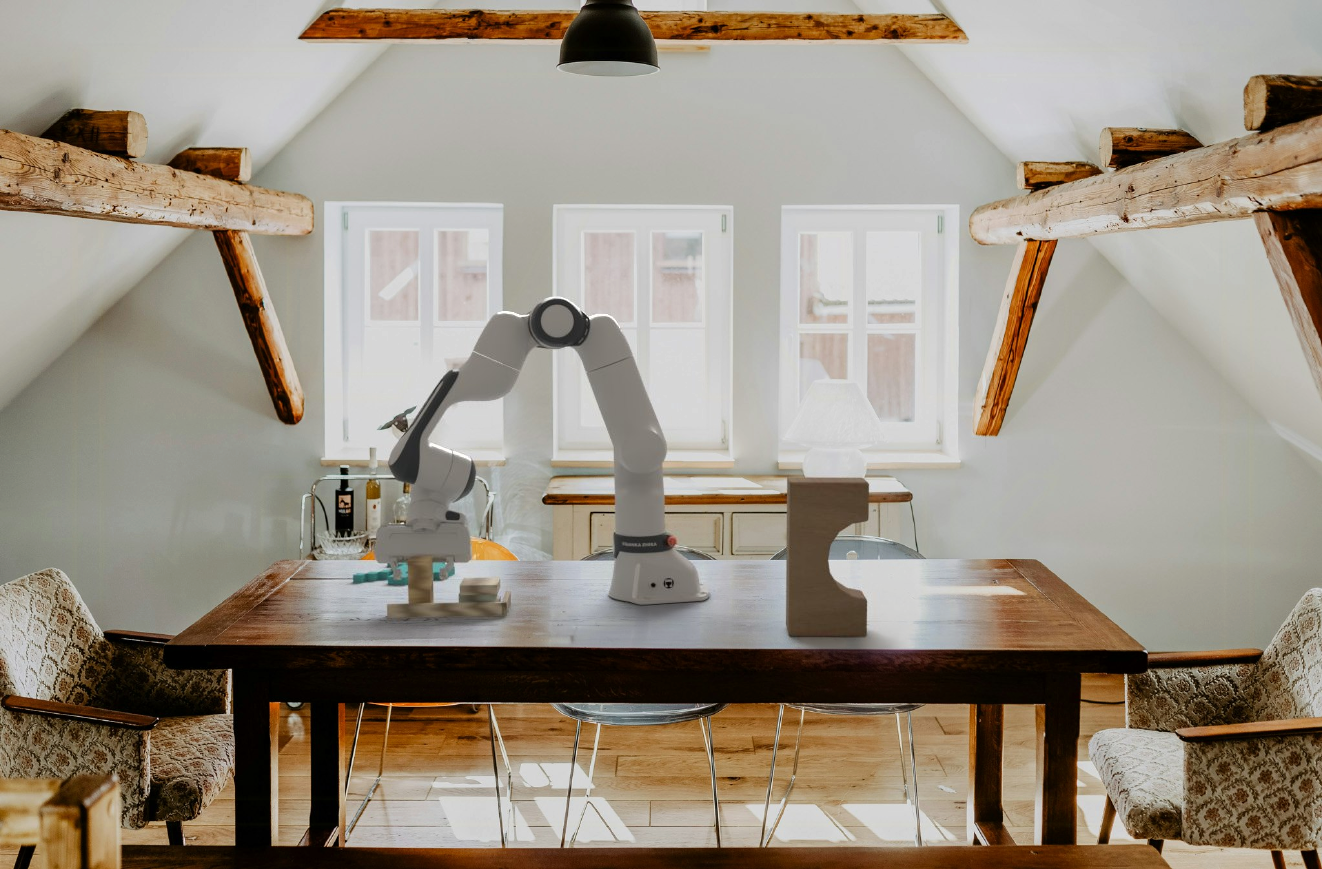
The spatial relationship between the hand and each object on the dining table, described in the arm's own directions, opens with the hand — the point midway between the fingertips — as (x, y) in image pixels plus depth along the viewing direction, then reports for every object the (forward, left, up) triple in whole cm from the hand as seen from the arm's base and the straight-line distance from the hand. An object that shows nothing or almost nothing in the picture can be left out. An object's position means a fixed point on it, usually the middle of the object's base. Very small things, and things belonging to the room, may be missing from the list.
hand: (420, 578), depth 216 cm
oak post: (0, 0, -7) cm, 7 cm away
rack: (-6, 0, -8) cm, 10 cm away
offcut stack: (-12, 0, -7) cm, 14 cm away
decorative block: (-81, +17, -8) cm, 83 cm away
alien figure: (+9, -39, -9) cm, 41 cm away
